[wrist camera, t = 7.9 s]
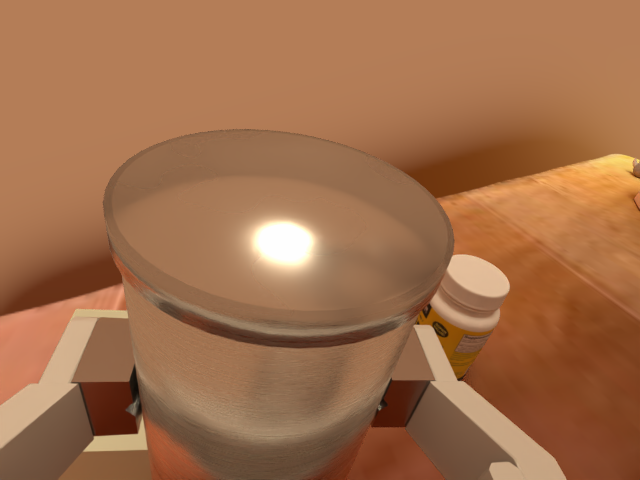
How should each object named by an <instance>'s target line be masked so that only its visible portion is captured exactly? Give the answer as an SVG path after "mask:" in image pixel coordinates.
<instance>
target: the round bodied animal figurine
mask: <svg viewBox="0 0 640 480" xmlns="http://www.w3.org/2000/svg"><path fill="white" fill-rule="evenodd" d="M633 167H634V168H633V173H634V175H635V176H636V177H638V178H640V161H639V163H637V161H636V158H635V159H634V161H633Z"/></svg>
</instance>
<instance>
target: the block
mask: <svg viewBox="0 0 640 480" xmlns="http://www.w3.org/2000/svg"><path fill="white" fill-rule="evenodd" d="M75 316H78V317H108V318H128V313H127V311H121V310H94V309H76V310H75V312H74V314H73V316H72V318H71V320H72V319H73V318H74V317H75ZM71 320H70V321H71ZM93 437H94V440H93V441H92V442H91V443H90V444H89V445H88V446H87V448H86V449H85V450H84V451H83V452H82V453H81V454H80V455H79V456H78V458H77V459H76V460H75V461H74V462H73V463H72V464H71V465H70V466H69V468H68V469H67V470H66V471H65V472H64V473H63V474H62V475H61V476H60V478H59V479H58V480H152V476H151V470H150V463H149V456H148V449H147V442H146V435H145V429H144V422H143V416H142V420H141V424H140V428H139V432H138V434H129V435H111V436H93Z"/></svg>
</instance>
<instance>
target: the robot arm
mask: <svg viewBox="0 0 640 480" xmlns="http://www.w3.org/2000/svg"><path fill="white" fill-rule="evenodd" d="M142 416H143V415H142V408H141V401H140V395H139V388H138V381H137V374H136V367H135V360H134V354H133V347H132V340H131V333H130V326H129V320H128V318H108V317H78V316H75V317H74V318H73V319H72V320H71V321H70V322H69V323H68V325H67V327H66V329H65V331H64V333H63V335H62V337H61V339H60V341H59V343H58V345H57V347H56V349H55V351H54V353H53V355H52V357H51V359H50V361H49V363H48V365H47V367H46V369H45V371H44V373H43V375H42V377H41V379H40V381H39V383H36V384H29V385H27V386H26V387H24V388H23V389H22V390H20V391H19V392H18V393H16V394H15V395H14V396H12V397H11V398H10V399H8V400H7V401H5V402H4V403H3V404H1V405H0V480H58V479H59V478H60V476H61V475H62V474H63V473H64V472H65V471H66V470H67V469H68V468H69V466H70V465H71V464H72V463H73V462H74V461H75V460H76V459H77V458H78V456H79V455H80V454H81V453H82V452H83V451H84V450H85V449H86V448H87V446H88V445H89V444H90V443H91V442H92V441H93V440H94V437H93V436H111V435H129V434H138V432H139V428H140V424H141V420H142ZM371 427H406V428H405V430H406V431H407V432H408V433H409V435H410V436H411V437H412V438H413V439H414V441H415V442H416V443H417V444H418V446H419V447H420V448H421V449H422V451H423V452H424V453H425V454H426V455H427V457H428V458H429V459H430V460H431V462H432V463H433V464H434V465H435V467H436V468H437V469H438V470H439V471H440V473H441V474H442V475H443V476H444V478H445V479H446V480H567V479H566V477H565V476H564V474H563V472H562V470H561V469H560V467H559V465H558V463H557V462H556V460H555V458H554V457H553V456H551V455H550V454H549V453H548V452H547V451H545V450H544V449H543V448H542V447H541V446H540V445H538V444H537V443H536V442H535V441H534V440H532V439H531V438H530V437H529V436H528V435H527V434H525V433H524V432H523V431H522V430H521V429H519V428H518V427H517V426H516V425H515V424H514V423H512V422H511V421H510V420H509V419H508V418H506V417H505V416H504V415H503V414H502V413H501V412H499V411H498V410H497V409H496V408H495V407H493V406H492V405H491V404H490V403H489V402H488V401H486V400H485V399H484V398H483V397H482V396H480V395H479V394H478V393H477V392H476V391H475V390H473V389H472V388H471V387H470V386H469V385H467V384H466V383H465V382H464V381H458V380H457V378H456V376H455V374H454V372H453V369H452V367H451V365H450V363H449V361H448V359H447V357H446V354H445V352H444V350H443V348H442V346H441V344H440V341H439V339H438V337H437V335H436V333H435V331H434V328H433V327H431V326H430V325H414V326H413V329H412V331H411V333H410V336H409V338H408V340H407V342H406V345H405V347H404V349H403V351H402V354H401V356H400V358H399V361H398V363H397V365H396V367H395V370H394V372H393V374H392V377H391V379H390V381H389V383H388V386H387V388H386V390H385V392H384V395H383V397H382V399H381V402H380V404H379V406H378V408H377V411H376V413H375V415H374V418H373V420H372V422H371Z"/></svg>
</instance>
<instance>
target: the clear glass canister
mask: <svg viewBox="0 0 640 480" xmlns="http://www.w3.org/2000/svg"><path fill="white" fill-rule="evenodd" d="M103 208H104V217H105V223H106V230H107V236H108V242H109V248H110V251H111V254H112V257H113V259H114V262H115V264H116V266H117V267H118V269H119V270H120V272H121V274H122V279H123V285H124V292H125V299H126V306H127V313H128V320H129V326H130V333H131V340H132V347H133V354H134V360H135V367H136V374H137V381H138V388H139V395H140V401H141V408H142V415H143V422H144V429H145V435H146V442H147V449H148V456H149V463H150V470H151V476H152V480H346V479H347V477H348V474H349V472H350V470H351V468H352V465H353V463H354V461H355V459H356V456H357V454H358V452H359V449H360V447H361V445H362V443H363V440H364V438H365V436H366V433H367V431H368V429H369V427H370V424H371V422H372V420H373V418H374V415H375V413H376V411H377V408H378V406H379V404H380V402H381V399H382V397H383V395H384V392H385V390H386V388H387V386H388V383H389V381H390V379H391V377H392V374H393V372H394V370H395V367H396V365H397V363H398V361H399V358H400V356H401V354H402V351H403V349H404V347H405V345H406V342H407V340H408V338H409V336H410V333H411V331H412V329H413V326H414V324H415V322H416V320H417V317H418V315H419V313H420V312H421V311H422V310H423V309H424V308H425V307H426V306H427V305H428V304H429V303H430V301H431V300H432V298H433V297H434V295H435V294H436V292H437V290H438V288H439V286H440V283H441V281H442V279H443V277H444V275H445V272H446V270H447V268H448V266H449V263H450V261H451V258H452V255H453V251H454V234H453V229H452V226H451V223H450V220H449V218H448V216H447V215H446V213H445V211H444V209H443V208H442V206H441V205H440V204H439V203H438V201H437V200H436V199H435V198H434V197H433V196H432V195H431V194H430V193H429V192H428V191H427V190H426V189H425V188H424V187H423V186H422V185H421V184H419V183H418V182H417V181H416V180H414V179H413V178H411V177H410V176H409V175H407V174H406V173H404V172H403V171H401V170H399V169H398V168H396V167H394V166H392V165H391V164H389V163H387V162H385V161H383V160H381V159H379V158H377V157H374V156H372V155H370V154H367V153H365V152H363V151H360V150H357V149H354V148H352V147H348V146H346V145H343V144H339V143H336V142H332V141H329V140H324V139H321V138H316V137H312V136H307V135H301V134H295V133H288V132H280V131H270V130H251V129H244V130H243V129H239V130H238V129H235V130H234V129H233V130H218V131H208V132H200V133H195V134H190V135H185V136H181V137H177V138H173V139H169V140H167V141H164V142H161V143H158V144H156V145H153V146H151V147H149V148H147V149H145V150H143V151H141V152H139V153H138V154H136V155H134V156H133V157H131V158H130V159H128V160H127V161H126V162H125V163H124V164H123V165H122V166H121V167H119V168H118V170H117V171H116V172H115V173H114V175H113V176H112V177H111V179H110V181H109V183H108V185H107V187H106V189H105V194H104V200H103Z"/></svg>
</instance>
